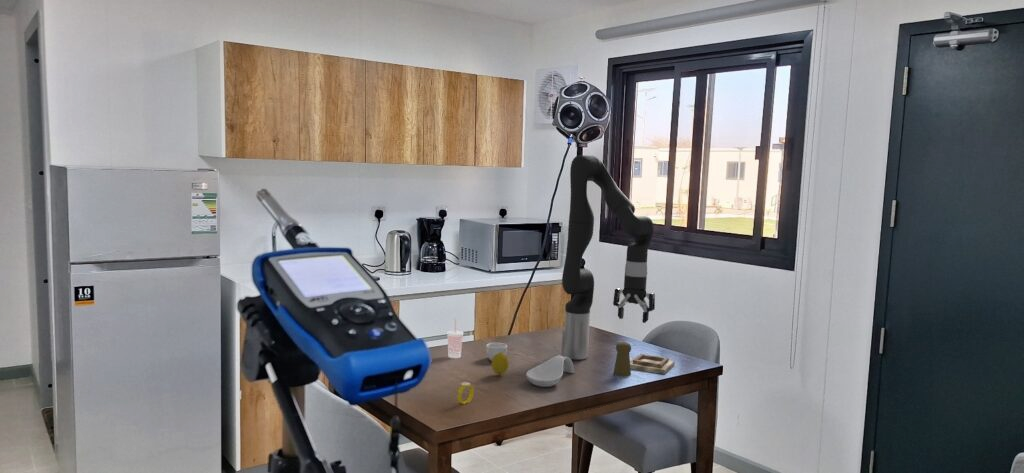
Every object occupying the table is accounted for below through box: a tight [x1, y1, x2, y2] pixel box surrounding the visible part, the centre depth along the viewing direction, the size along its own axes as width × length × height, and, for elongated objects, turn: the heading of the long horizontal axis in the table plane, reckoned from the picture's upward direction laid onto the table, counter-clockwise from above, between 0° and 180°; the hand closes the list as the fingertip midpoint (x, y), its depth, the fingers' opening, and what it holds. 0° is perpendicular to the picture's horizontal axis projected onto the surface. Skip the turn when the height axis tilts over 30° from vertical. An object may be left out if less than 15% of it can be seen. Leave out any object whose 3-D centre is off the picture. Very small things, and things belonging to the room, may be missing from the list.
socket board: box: [630, 353, 675, 375], centre depth 254 cm, size 14×14×3 cm
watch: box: [456, 381, 475, 405], centre depth 207 cm, size 6×3×6 cm, turn 143°
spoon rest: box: [525, 354, 575, 388], centre depth 233 cm, size 24×12×7 cm, turn 149°
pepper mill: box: [613, 341, 632, 377], centre depth 242 cm, size 6×6×11 cm
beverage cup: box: [446, 318, 464, 359], centre depth 257 cm, size 6×6×14 cm
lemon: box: [491, 352, 509, 376], centre depth 236 cm, size 6×6×8 cm
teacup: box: [485, 342, 508, 361], centre depth 256 cm, size 10×8×5 cm
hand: (632, 320), depth 242 cm, fingers open, 8 cm apart
